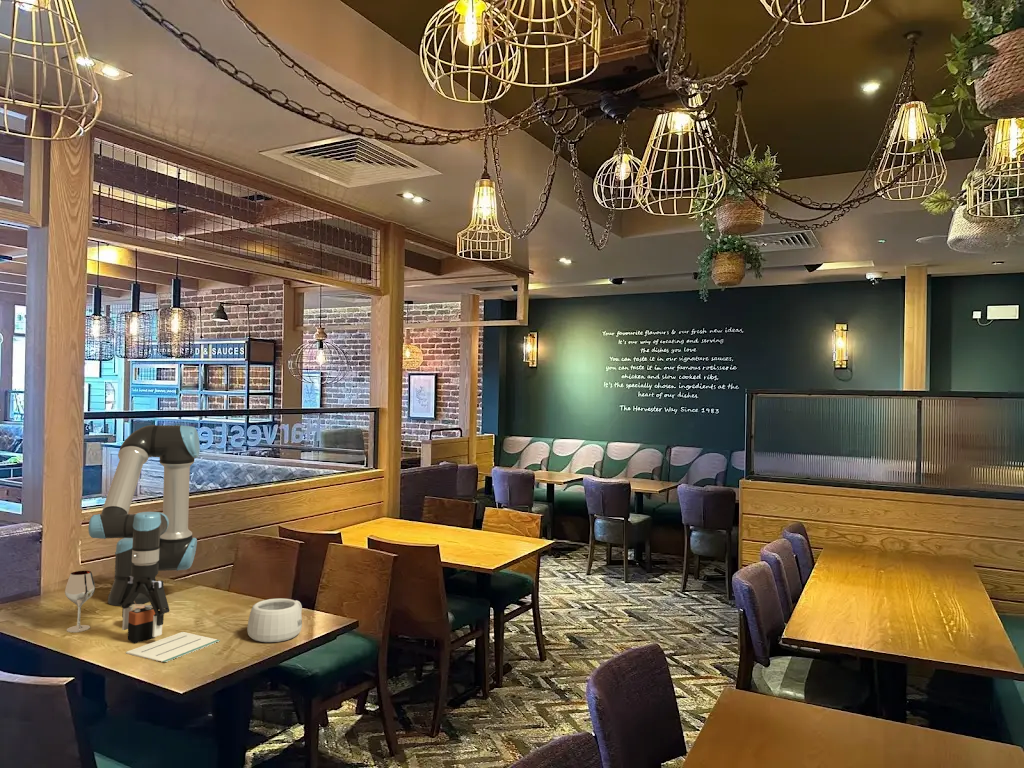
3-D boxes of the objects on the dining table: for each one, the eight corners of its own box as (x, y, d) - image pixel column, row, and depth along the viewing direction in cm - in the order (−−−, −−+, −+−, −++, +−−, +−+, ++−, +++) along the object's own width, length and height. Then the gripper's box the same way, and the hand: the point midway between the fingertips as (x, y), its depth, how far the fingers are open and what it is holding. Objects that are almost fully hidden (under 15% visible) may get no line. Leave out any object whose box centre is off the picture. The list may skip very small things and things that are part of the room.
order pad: (182, 632, 220) (182, 631, 220) (220, 641, 213) (220, 640, 213) (125, 653, 201) (125, 651, 201) (164, 663, 195) (164, 661, 195)
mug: (278, 648, 210) (280, 615, 210) (235, 639, 216) (236, 607, 216) (321, 627, 230) (322, 597, 230) (280, 619, 236) (281, 590, 236)
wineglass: (78, 634, 215) (81, 576, 215) (56, 631, 217) (59, 574, 217) (99, 626, 223) (102, 570, 223) (77, 623, 225) (80, 568, 225)
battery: (156, 638, 214) (157, 606, 214) (134, 644, 209) (135, 611, 209) (148, 635, 217) (150, 603, 217) (126, 640, 211) (128, 608, 211)
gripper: (106, 560, 215) (103, 629, 214) (163, 570, 205) (159, 642, 204) (128, 555, 222) (125, 622, 221) (184, 565, 212) (180, 635, 211)
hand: (141, 632), depth 213 cm, fingers open, 12 cm apart
